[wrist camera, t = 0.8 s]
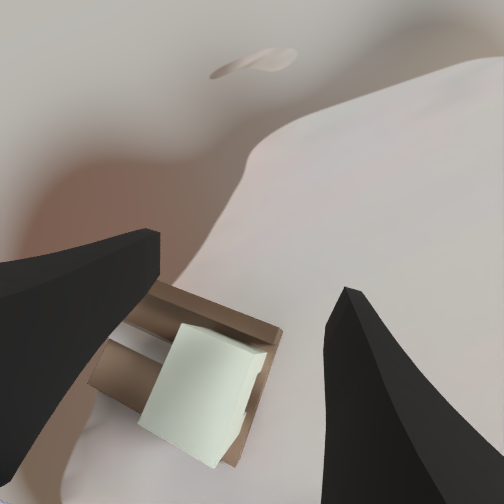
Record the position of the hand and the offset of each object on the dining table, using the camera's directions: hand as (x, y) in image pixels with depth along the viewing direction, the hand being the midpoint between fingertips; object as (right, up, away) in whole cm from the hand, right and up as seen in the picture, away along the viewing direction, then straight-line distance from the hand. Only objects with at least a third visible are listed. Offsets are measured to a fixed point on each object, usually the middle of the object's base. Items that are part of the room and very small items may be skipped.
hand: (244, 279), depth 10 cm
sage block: (-2, -9, +11) cm, 14 cm away
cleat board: (-5, -8, +13) cm, 16 cm away
